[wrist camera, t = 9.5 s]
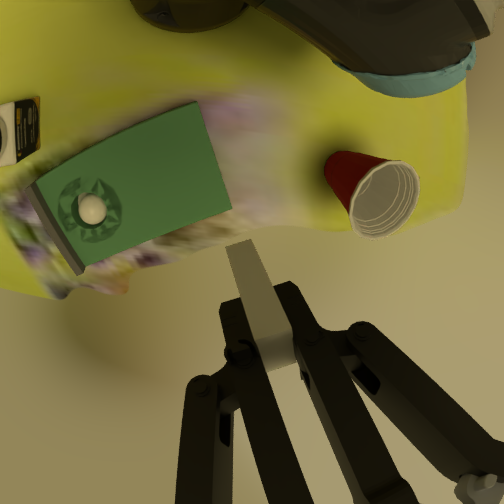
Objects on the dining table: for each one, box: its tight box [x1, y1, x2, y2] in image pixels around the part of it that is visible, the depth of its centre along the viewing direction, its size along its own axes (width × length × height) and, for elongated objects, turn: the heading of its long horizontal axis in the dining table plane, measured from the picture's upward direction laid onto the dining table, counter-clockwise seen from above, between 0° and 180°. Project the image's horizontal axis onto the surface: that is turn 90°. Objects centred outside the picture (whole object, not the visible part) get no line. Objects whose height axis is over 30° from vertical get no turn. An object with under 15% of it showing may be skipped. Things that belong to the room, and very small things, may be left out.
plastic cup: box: [324, 151, 420, 240], centre depth 34 cm, size 11×11×12 cm
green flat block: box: [24, 101, 232, 276], centre depth 31 cm, size 14×23×4 cm, turn 105°
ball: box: [79, 193, 107, 224], centre depth 31 cm, size 4×4×4 cm
